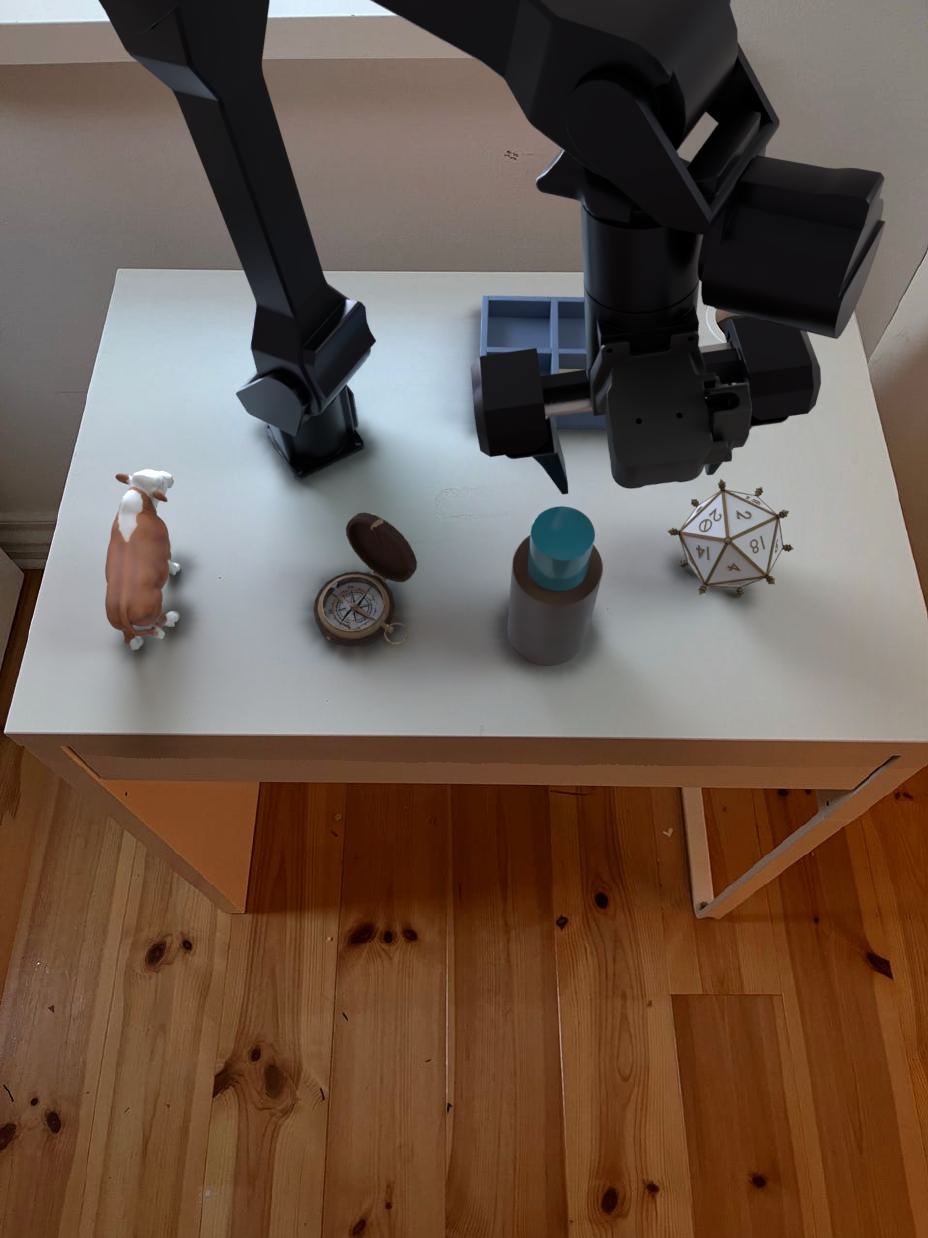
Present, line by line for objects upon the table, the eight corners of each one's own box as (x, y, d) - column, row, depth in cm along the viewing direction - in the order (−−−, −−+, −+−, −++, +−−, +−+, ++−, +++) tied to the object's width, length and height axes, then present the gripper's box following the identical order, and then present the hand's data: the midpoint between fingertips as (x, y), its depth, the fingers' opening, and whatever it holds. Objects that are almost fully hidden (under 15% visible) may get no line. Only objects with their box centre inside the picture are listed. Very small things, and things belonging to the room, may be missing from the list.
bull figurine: (201, 514, 73) (171, 452, 66) (175, 665, 67) (139, 614, 59) (147, 514, 73) (111, 452, 66) (116, 665, 67) (73, 614, 59)
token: (549, 602, 58) (554, 570, 54) (515, 557, 60) (518, 524, 56) (599, 573, 59) (607, 541, 55) (565, 530, 61) (570, 495, 57)
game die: (706, 611, 72) (695, 623, 63) (659, 517, 73) (641, 516, 64) (813, 561, 69) (818, 566, 60) (763, 464, 70) (760, 454, 61)
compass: (298, 622, 68) (279, 574, 62) (362, 549, 71) (350, 496, 65) (381, 677, 66) (371, 633, 60) (443, 599, 69) (440, 549, 63)
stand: (536, 679, 66) (545, 621, 57) (492, 618, 68) (495, 553, 60) (602, 640, 67) (621, 577, 59) (557, 581, 70) (568, 513, 61)
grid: (477, 426, 77) (478, 407, 75) (481, 315, 83) (482, 294, 80) (630, 429, 76) (634, 411, 74) (623, 317, 82) (627, 297, 80)
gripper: (463, 418, 41) (501, 601, 54) (882, 359, 39) (816, 563, 52) (453, 265, 47) (489, 463, 60) (817, 207, 45) (772, 424, 58)
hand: (636, 479), depth 58 cm, fingers open, 9 cm apart
